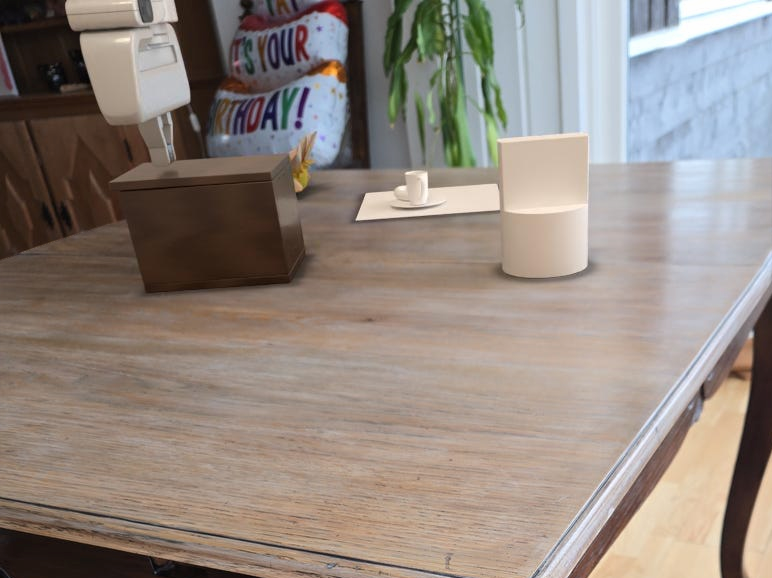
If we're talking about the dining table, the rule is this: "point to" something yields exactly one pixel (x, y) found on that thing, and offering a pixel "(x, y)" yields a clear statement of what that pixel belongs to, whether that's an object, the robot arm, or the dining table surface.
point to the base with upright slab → (544, 204)
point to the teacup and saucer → (428, 199)
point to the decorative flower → (302, 161)
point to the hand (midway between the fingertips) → (165, 164)
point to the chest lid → (202, 172)
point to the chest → (216, 234)
